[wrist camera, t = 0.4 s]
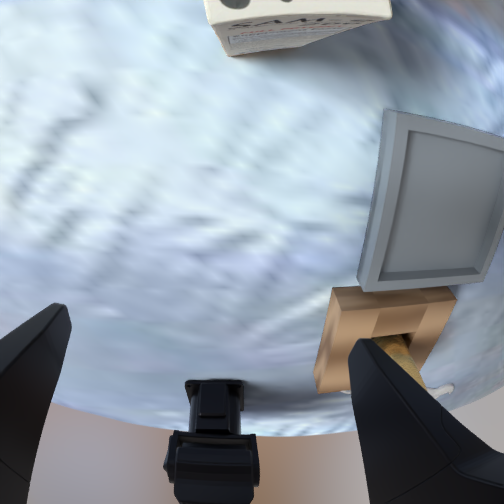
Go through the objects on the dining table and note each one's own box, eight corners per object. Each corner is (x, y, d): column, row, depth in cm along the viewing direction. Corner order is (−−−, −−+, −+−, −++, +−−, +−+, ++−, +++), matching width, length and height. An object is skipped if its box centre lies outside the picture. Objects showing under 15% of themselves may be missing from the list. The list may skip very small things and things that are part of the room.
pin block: (406, 359, 33) (415, 378, 30) (313, 371, 32) (317, 393, 30) (442, 280, 27) (457, 299, 24) (332, 287, 26) (341, 311, 24)
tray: (472, 270, 26) (482, 281, 25) (356, 277, 26) (363, 292, 24) (510, 139, 19) (524, 146, 17) (383, 108, 18) (397, 112, 17)
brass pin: (388, 341, 31) (417, 408, 23) (355, 345, 30) (379, 417, 23) (399, 314, 29) (434, 384, 21) (364, 318, 28) (395, 393, 21)
